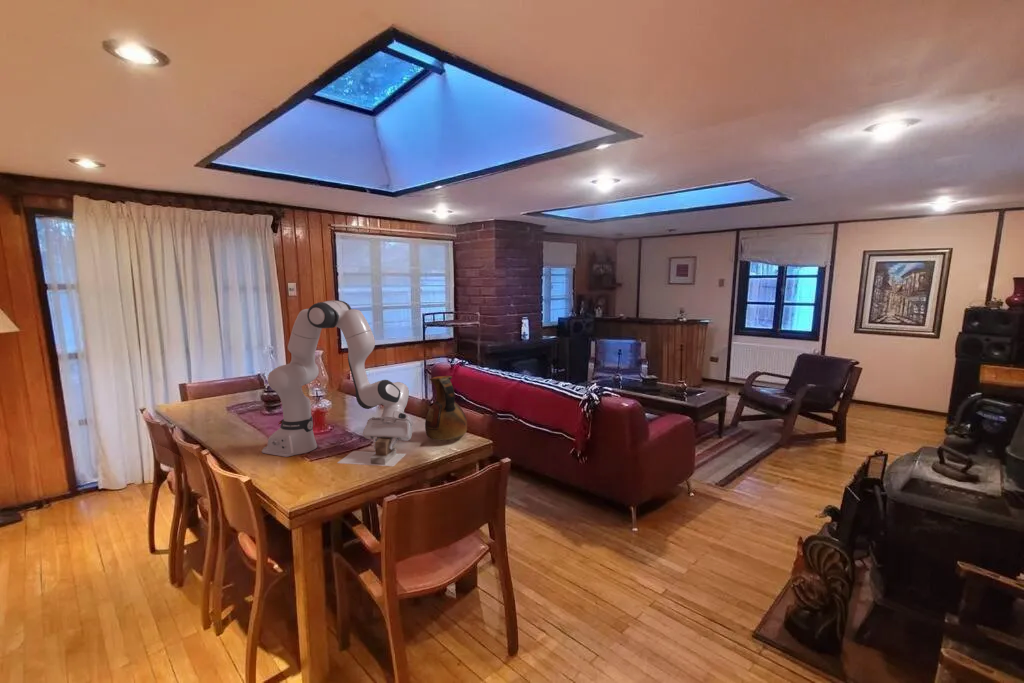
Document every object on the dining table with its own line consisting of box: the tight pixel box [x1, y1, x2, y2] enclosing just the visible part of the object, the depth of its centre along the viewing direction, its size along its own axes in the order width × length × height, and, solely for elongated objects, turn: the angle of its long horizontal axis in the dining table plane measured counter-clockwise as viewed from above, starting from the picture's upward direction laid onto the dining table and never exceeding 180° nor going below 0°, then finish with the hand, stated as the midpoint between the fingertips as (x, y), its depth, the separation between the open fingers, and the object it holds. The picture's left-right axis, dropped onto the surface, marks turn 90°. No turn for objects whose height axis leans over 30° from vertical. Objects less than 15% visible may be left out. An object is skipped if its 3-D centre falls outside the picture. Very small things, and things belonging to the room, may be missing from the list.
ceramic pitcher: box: [424, 375, 468, 441], centre depth 207 cm, size 20×20×30 cm
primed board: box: [337, 450, 407, 467], centre depth 182 cm, size 24×13×2 cm, turn 81°
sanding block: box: [370, 438, 397, 465], centre depth 180 cm, size 6×11×8 cm, turn 171°
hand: (382, 448), depth 180 cm, fingers closed on sanding block, 4 cm apart
